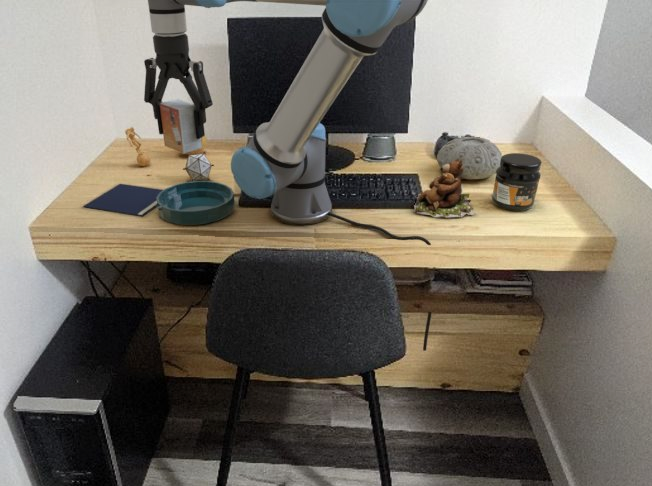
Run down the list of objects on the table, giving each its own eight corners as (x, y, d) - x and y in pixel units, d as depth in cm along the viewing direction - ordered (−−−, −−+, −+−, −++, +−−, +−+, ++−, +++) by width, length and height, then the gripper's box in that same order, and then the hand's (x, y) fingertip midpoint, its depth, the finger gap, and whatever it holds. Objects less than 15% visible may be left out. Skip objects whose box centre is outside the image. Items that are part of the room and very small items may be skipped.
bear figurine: (408, 196, 147) (413, 152, 141) (465, 197, 146) (472, 152, 140) (414, 218, 135) (419, 171, 129) (476, 219, 134) (484, 172, 128)
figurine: (147, 170, 165) (140, 131, 159) (127, 170, 165) (120, 131, 159) (154, 161, 172) (148, 123, 166) (135, 161, 172) (128, 123, 166)
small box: (164, 146, 134) (158, 102, 128) (183, 141, 137) (178, 98, 132) (183, 154, 129) (177, 109, 124) (202, 148, 132) (198, 104, 127)
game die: (205, 194, 159) (205, 175, 150) (177, 182, 159) (177, 163, 149) (217, 170, 163) (219, 151, 153) (191, 159, 162) (191, 139, 153)
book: (175, 192, 151) (175, 191, 150) (142, 216, 138) (142, 215, 138) (120, 184, 156) (119, 183, 156) (83, 207, 143) (83, 205, 143)
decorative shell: (444, 186, 152) (448, 151, 147) (429, 163, 168) (432, 131, 162) (507, 184, 153) (514, 149, 148) (487, 162, 168) (492, 130, 163)
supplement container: (494, 211, 138) (502, 165, 132) (487, 194, 147) (495, 151, 141) (537, 213, 137) (548, 167, 131) (528, 196, 146) (538, 152, 140)
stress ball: (180, 149, 181) (176, 119, 176) (209, 149, 181) (206, 119, 176) (174, 160, 173) (169, 128, 168) (205, 159, 173) (201, 128, 168)
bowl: (246, 200, 146) (245, 185, 144) (213, 231, 131) (211, 216, 128) (183, 191, 152) (181, 177, 149) (143, 220, 136) (141, 205, 134)
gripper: (223, 33, 119) (230, 134, 131) (136, 29, 126) (151, 125, 138) (206, 39, 113) (215, 144, 125) (116, 33, 120) (133, 134, 132)
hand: (181, 134), depth 131 cm, fingers closed on small box, 9 cm apart
